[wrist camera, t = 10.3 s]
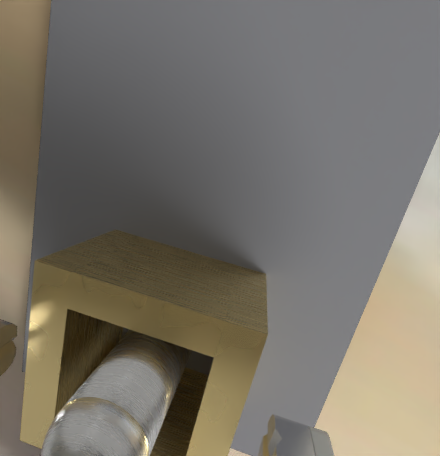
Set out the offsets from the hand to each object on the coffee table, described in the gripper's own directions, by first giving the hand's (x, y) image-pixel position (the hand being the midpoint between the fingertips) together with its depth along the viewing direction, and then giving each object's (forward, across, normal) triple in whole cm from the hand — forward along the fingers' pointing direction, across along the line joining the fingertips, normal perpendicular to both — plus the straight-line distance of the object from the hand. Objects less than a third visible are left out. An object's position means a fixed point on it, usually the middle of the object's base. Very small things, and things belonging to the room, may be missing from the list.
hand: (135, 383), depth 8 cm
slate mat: (+5, 0, -4) cm, 6 cm away
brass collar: (+4, 0, 0) cm, 4 cm away
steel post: (+4, 0, 0) cm, 4 cm away
